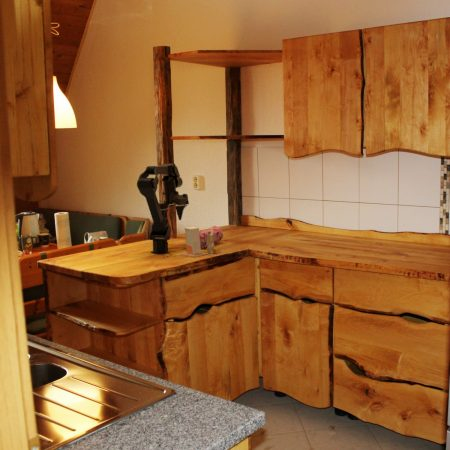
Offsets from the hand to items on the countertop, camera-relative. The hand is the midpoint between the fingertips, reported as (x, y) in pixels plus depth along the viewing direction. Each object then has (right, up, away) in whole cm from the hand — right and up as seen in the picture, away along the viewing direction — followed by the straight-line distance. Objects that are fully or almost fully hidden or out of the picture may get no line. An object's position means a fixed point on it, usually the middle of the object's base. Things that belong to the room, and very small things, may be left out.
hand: (173, 221), depth 297 cm
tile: (+11, -15, -17) cm, 25 cm away
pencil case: (+16, -12, +6) cm, 21 cm away
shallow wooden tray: (+18, -14, -11) cm, 26 cm away
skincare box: (+11, -15, -17) cm, 25 cm away
